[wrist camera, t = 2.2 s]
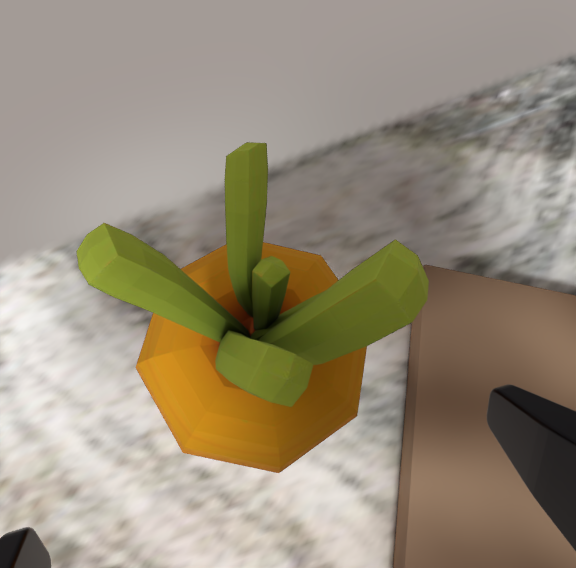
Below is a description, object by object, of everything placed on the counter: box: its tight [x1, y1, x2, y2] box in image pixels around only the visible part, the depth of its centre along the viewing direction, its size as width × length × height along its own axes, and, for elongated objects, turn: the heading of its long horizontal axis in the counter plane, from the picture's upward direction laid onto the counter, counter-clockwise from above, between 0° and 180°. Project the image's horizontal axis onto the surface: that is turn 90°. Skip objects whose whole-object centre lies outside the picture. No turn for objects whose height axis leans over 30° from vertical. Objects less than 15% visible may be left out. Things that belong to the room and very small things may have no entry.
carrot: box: [77, 142, 429, 473], centre depth 12 cm, size 5×5×15 cm
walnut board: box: [393, 265, 576, 568], centre depth 19 cm, size 14×12×1 cm
